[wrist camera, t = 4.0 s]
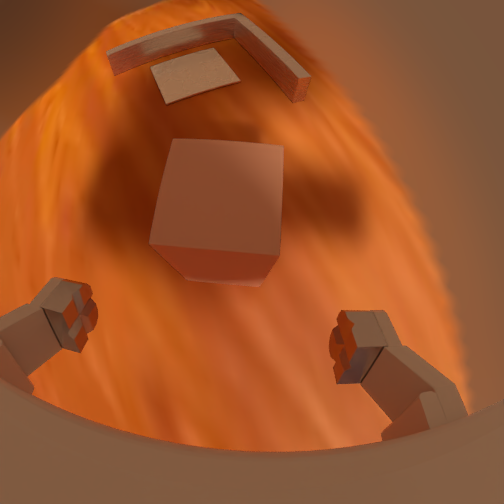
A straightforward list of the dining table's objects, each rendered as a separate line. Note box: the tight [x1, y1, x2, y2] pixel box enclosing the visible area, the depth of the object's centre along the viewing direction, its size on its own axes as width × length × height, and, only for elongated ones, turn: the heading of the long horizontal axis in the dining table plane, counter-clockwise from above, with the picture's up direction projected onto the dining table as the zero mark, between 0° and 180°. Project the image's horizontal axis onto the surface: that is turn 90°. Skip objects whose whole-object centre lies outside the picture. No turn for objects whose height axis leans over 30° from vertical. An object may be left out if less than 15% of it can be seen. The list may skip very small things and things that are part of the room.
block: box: [149, 139, 284, 287], centre depth 14 cm, size 4×4×8 cm
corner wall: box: [106, 13, 311, 105], centre depth 20 cm, size 14×15×3 cm
